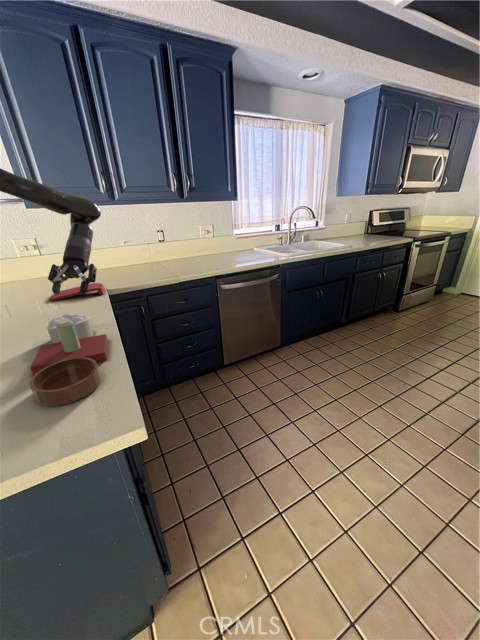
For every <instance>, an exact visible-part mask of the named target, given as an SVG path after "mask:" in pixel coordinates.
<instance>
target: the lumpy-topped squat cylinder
mask: <svg viewBox="0 0 480 640" xmlns="http://www.w3.org/2000/svg"><path fill="white" fill-rule="evenodd" d="M62 319H70V320H71V321H73V323H74V326H75V330H76V333H77V336H78V339H81V338H86V337H92V336H94V332H93V329H92V326H91V322H90V321H91V320H90V318H89V316H87V315H82V314H77V313H76V314H72V313H65V314H63V315H62V317H53V318H52V319H50V320H49V321H48V322H47V324H48V325H47V327H46V329H47V332H48V335H49V338H50V340H51V344H52V343H58V342H61V341H60V338H59V335H58V332H57V329H56V326H55V325H56V324H57V322H58V321H59V320H62Z"/></svg>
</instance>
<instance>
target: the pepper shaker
mask: <svg viewBox="0 0 480 640" xmlns="http://www.w3.org/2000/svg"><path fill="white" fill-rule="evenodd" d="M55 326H56V329H57V332H58V335H59V338H60V341H61V344H62V347H63V350H64V352H73V351H76V350H78V349H79V348H80V347H81V346H80V343H79V340H78V336H77V333H76V330H75V326H74V323H73V321H71V320H70V319H62V320H59V321H58V322H57V324H56V325H55Z"/></svg>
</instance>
